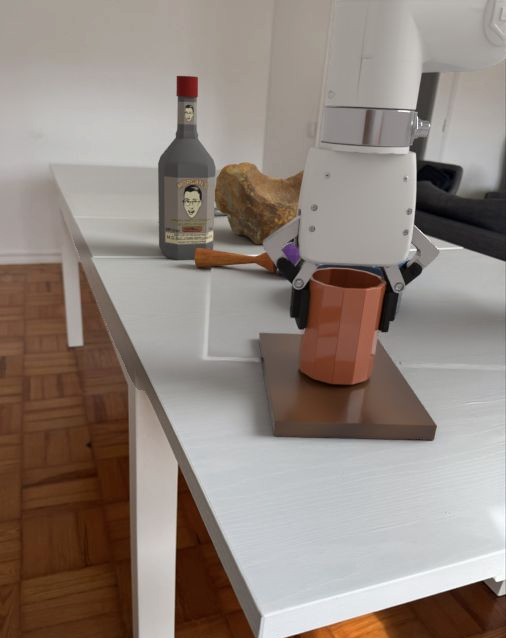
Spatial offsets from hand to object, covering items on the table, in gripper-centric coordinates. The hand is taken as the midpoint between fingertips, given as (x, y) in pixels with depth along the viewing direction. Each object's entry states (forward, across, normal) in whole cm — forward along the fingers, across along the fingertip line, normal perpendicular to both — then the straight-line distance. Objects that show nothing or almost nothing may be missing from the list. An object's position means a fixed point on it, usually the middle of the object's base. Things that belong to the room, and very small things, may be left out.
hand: (340, 324), depth 54 cm
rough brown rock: (+7, +1, -67) cm, 67 cm away
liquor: (+7, +18, -52) cm, 55 cm away
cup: (+5, 0, 0) cm, 5 cm away
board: (+7, 0, 0) cm, 7 cm away
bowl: (+7, -7, -25) cm, 27 cm away
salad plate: (+7, +14, -100) cm, 101 cm away
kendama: (+7, +6, -40) cm, 41 cm away
